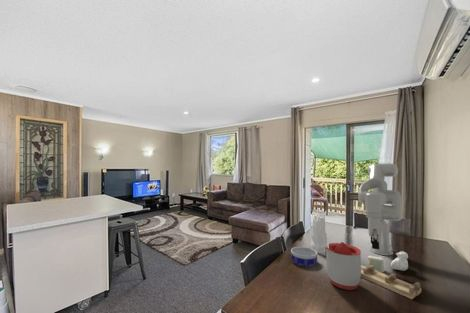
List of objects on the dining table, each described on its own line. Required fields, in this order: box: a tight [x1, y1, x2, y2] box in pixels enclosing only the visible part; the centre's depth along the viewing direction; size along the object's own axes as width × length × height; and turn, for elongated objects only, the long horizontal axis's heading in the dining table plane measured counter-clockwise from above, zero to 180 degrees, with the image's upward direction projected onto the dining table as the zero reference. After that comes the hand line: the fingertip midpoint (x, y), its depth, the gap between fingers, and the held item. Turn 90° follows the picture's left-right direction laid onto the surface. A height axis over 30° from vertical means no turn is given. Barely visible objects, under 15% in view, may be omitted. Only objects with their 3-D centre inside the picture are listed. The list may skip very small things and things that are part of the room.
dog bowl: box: [290, 246, 318, 267], centre depth 128 cm, size 15×15×6 cm
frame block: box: [367, 255, 385, 273], centre depth 117 cm, size 3×7×6 cm, turn 60°
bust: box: [390, 250, 409, 272], centre depth 117 cm, size 12×8×11 cm
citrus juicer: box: [321, 241, 362, 291], centre depth 103 cm, size 16×17×20 cm
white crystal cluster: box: [310, 212, 329, 255], centre depth 145 cm, size 11×11×25 cm
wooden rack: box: [360, 264, 422, 300], centre depth 106 cm, size 10×30×4 cm, turn 30°
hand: (374, 246), depth 117 cm, fingers open, 9 cm apart
